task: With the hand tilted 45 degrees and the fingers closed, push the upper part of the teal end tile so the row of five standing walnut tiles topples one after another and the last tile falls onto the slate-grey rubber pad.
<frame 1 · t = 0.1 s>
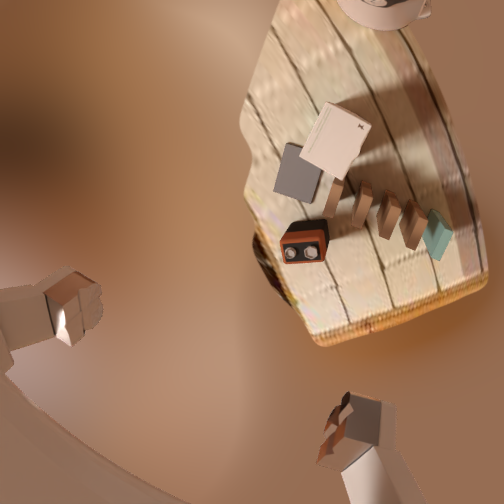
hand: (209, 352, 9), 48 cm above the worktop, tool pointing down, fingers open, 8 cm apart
domino 1 end: (429, 223, 49), on the worktop
domino 4: (361, 195, 51), on the worktop
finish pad: (299, 173, 53), on the worktop
skincare box: (341, 133, 48), on the worktop
domino 3: (385, 204, 50), on the worktop
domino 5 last: (337, 186, 52), on the worktop
battery: (310, 231, 57), on the worktop
domino 2: (408, 213, 50), on the worktop
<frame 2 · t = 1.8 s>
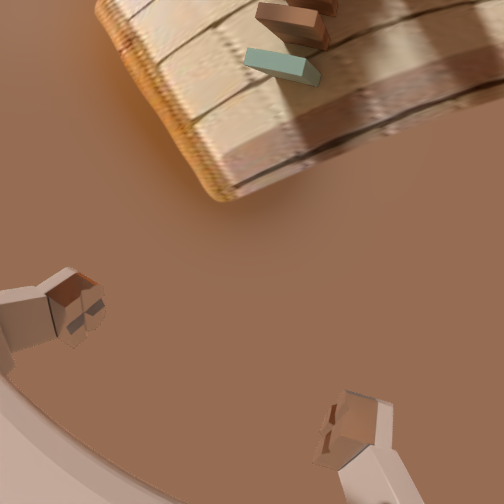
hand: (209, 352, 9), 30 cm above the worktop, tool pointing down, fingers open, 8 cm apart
domino 1 end: (297, 75, 30), on the worktop
domino 3: (314, 6, 26), on the worktop
domino 2: (306, 39, 28), on the worktop
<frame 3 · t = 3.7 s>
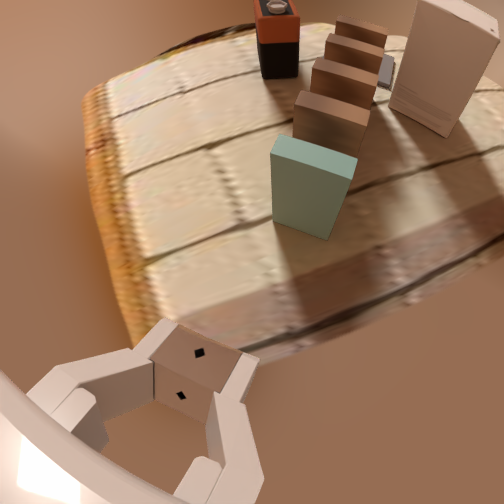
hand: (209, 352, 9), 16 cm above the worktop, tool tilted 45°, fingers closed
domino 1 end: (302, 222, 27), on the worktop
domino 4: (340, 117, 31), on the worktop
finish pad: (358, 62, 34), on the worktop
skincare box: (420, 109, 31), on the worktop
domino 3: (330, 146, 30), on the worktop
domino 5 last: (349, 92, 32), on the worktop
battery: (277, 64, 34), on the worktop
domino 2: (318, 181, 28), on the worktop
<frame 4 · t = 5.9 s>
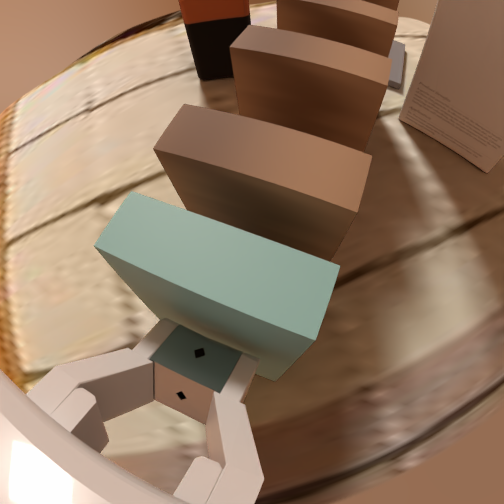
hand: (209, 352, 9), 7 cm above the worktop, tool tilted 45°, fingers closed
domino 1 end: (234, 348, 15), on the worktop, tilted 10°
domino 4: (319, 139, 19), on the worktop
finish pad: (352, 50, 22), on the worktop
skincare box: (447, 125, 19), on the worktop
domino 3: (297, 195, 18), on the worktop
battery: (226, 57, 23), on the worktop
domino 2: (268, 267, 16), on the worktop
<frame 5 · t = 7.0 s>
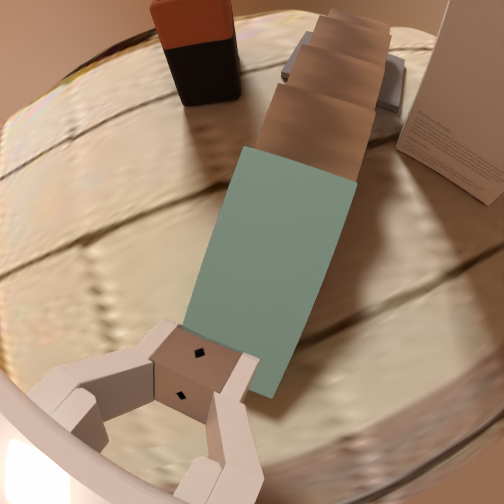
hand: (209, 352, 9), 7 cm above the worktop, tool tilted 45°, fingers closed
domino 1 end: (226, 371, 14), point 1 cm above the worktop, tilted 68°, touching domino 2
domino 4: (315, 154, 18), point 1 cm above the worktop, tilted 68°, touching domino 3, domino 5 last
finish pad: (347, 68, 21), on the worktop
skincare box: (448, 151, 18), on the worktop
domino 3: (290, 216, 17), point 1 cm above the worktop, tilted 68°, touching domino 2, domino 4
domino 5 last: (331, 109, 19), point 1 cm above the worktop, tilted 77°, touching domino 4, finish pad
battery: (212, 79, 22), on the worktop
domino 2: (262, 289, 15), point 1 cm above the worktop, tilted 68°, touching domino 1 end, domino 3
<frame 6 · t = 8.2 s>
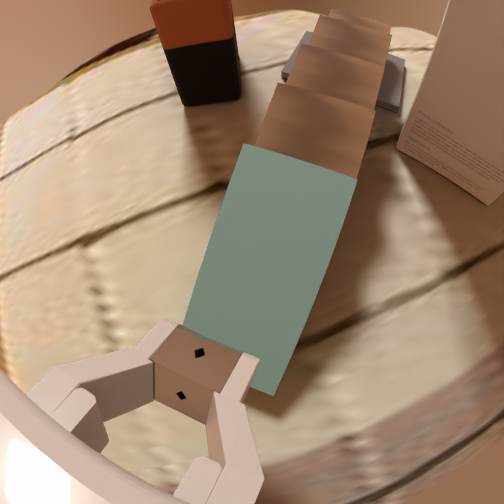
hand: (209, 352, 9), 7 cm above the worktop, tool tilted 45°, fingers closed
domino 1 end: (227, 368, 14), point 1 cm above the worktop, tilted 68°, touching domino 2
domino 4: (315, 153, 18), point 1 cm above the worktop, tilted 68°, touching domino 3, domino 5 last
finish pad: (348, 68, 21), on the worktop
skincare box: (448, 151, 18), on the worktop
domino 3: (290, 215, 17), point 1 cm above the worktop, tilted 68°, touching domino 2, domino 4
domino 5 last: (332, 109, 19), point 1 cm above the worktop, tilted 77°, touching domino 4, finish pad
battery: (212, 79, 22), on the worktop
domino 2: (263, 288, 15), point 1 cm above the worktop, tilted 68°, touching domino 1 end, domino 3
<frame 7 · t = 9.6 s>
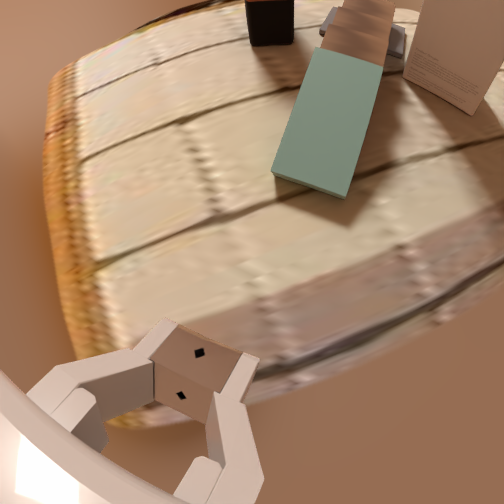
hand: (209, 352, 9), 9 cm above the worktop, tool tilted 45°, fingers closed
domino 1 end: (308, 185, 20), point 1 cm above the worktop, tilted 68°, touching domino 2
domino 4: (350, 73, 23), point 1 cm above the worktop, tilted 68°, touching domino 3, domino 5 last
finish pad: (364, 31, 27), on the worktop
skincare box: (439, 83, 24), on the worktop
domino 3: (339, 102, 22), point 1 cm above the worktop, tilted 68°, touching domino 2, domino 4
battery: (268, 32, 27), on the worktop
domino 2: (327, 138, 21), point 1 cm above the worktop, tilted 68°, touching domino 1 end, domino 3
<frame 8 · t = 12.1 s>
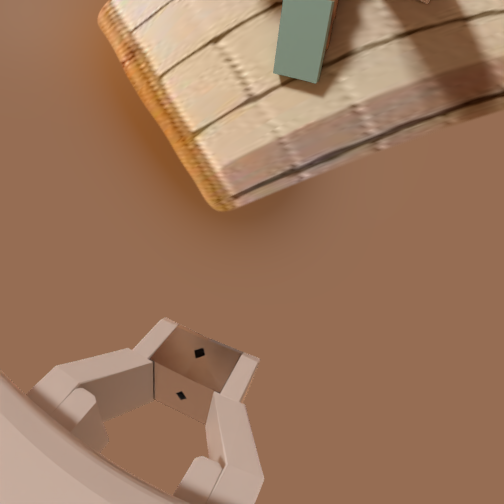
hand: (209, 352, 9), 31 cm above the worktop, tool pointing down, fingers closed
domino 1 end: (296, 76, 31), point 1 cm above the worktop, tilted 68°, touching domino 2
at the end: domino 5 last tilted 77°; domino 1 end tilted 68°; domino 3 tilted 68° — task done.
